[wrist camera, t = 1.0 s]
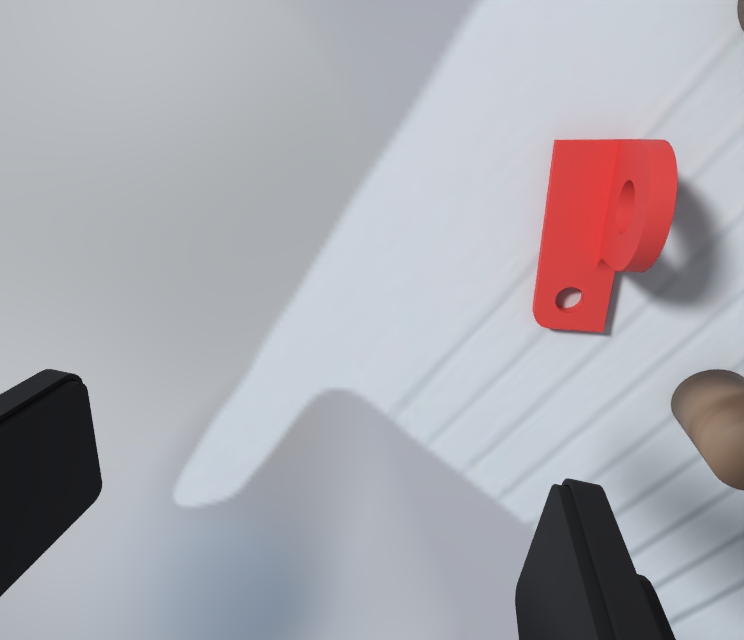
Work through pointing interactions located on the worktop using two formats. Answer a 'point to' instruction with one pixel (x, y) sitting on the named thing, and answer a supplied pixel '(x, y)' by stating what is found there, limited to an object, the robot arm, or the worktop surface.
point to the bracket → (601, 223)
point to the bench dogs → (715, 411)
